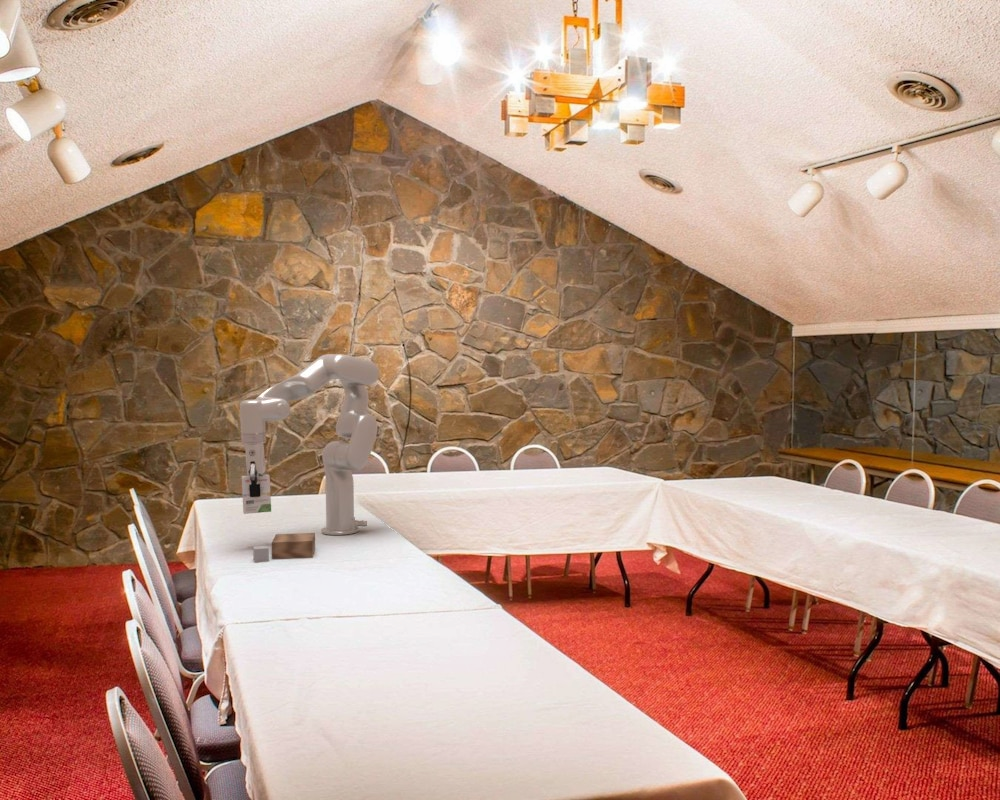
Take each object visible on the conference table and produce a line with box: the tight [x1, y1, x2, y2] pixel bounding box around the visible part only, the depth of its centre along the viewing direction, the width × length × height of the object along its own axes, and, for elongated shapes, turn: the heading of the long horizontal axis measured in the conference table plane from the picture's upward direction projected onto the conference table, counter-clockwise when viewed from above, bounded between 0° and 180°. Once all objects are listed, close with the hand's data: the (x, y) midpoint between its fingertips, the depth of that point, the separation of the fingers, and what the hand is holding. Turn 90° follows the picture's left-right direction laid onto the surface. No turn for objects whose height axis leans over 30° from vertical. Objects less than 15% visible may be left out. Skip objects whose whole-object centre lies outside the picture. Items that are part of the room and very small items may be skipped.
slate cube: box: [252, 545, 270, 563], centre depth 274 cm, size 4×4×4 cm
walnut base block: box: [271, 532, 316, 560], centre depth 283 cm, size 12×13×5 cm
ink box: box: [241, 473, 272, 515], centre depth 292 cm, size 8×5×12 cm, turn 108°
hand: (256, 494), depth 292 cm, fingers closed on ink box, 5 cm apart
